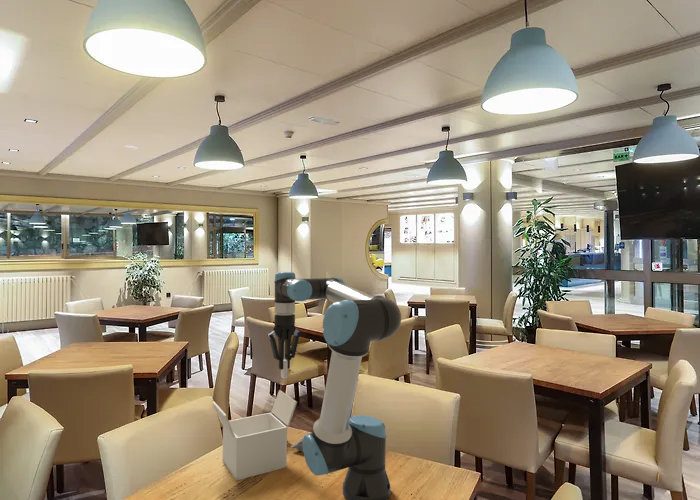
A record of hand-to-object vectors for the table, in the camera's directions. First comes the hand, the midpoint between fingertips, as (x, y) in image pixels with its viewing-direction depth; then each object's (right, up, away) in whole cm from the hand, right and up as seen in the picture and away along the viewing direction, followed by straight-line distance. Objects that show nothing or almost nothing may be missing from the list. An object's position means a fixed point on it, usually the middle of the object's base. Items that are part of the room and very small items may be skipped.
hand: (284, 377), depth 161 cm
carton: (-10, -29, -6) cm, 31 cm away
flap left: (-19, -11, -11) cm, 24 cm away
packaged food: (+9, -30, +4) cm, 31 cm away
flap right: (0, -11, 0) cm, 11 cm away
